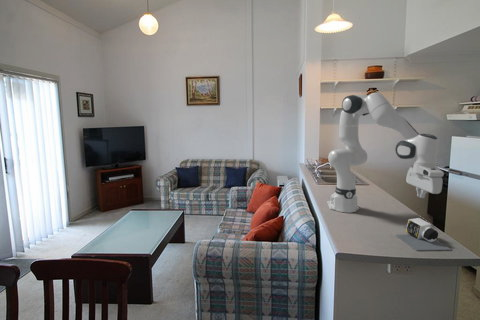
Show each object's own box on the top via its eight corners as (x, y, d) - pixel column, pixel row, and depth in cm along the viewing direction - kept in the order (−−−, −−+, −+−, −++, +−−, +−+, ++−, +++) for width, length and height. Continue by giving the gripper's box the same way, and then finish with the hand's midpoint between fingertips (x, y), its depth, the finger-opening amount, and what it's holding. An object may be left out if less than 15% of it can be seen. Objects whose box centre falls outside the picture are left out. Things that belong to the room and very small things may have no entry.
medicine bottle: (408, 219, 140) (430, 231, 129) (418, 217, 142) (441, 229, 132) (405, 232, 142) (427, 245, 131) (415, 230, 144) (438, 242, 134)
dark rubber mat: (395, 235, 141) (395, 234, 141) (427, 235, 142) (427, 234, 142) (416, 250, 126) (416, 249, 125) (451, 250, 126) (451, 249, 126)
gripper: (404, 164, 142) (401, 191, 144) (432, 173, 122) (428, 204, 124) (416, 164, 142) (413, 191, 145) (446, 173, 122) (442, 204, 125)
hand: (420, 197), depth 134 cm, fingers closed
